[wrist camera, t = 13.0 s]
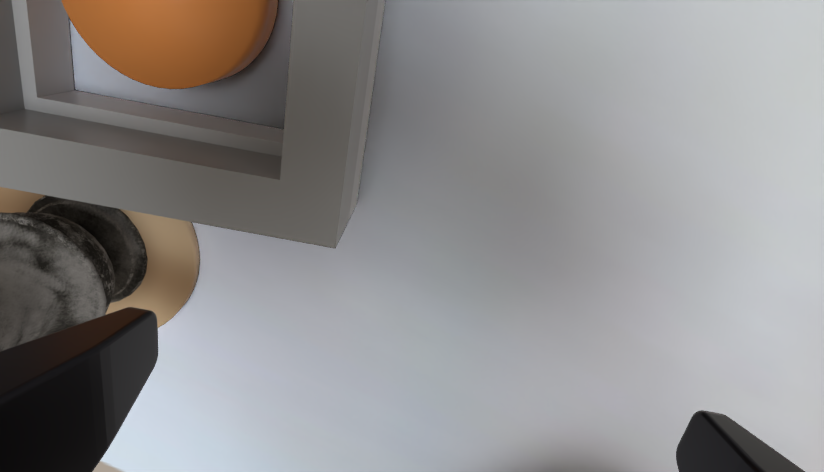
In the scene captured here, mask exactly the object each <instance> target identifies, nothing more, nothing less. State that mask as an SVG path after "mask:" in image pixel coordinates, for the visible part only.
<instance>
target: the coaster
mask: <svg viewBox="0 0 824 472" xmlns="http://www.w3.org/2000/svg"><path fill="white" fill-rule="evenodd" d="M43 196H45V195H42V194H36V193H31V192H26V191H20V190H15V189H9V188H4V187H0V212H2V213H15V212H24V213H27V211H28V210H29V209H30V207H31V206H32V205H33V204H34V202H35V201H37V200H39V199H40V198H42V197H43ZM120 210H121V211H122V212H123V213H125V214H126V215H127V216H128V217H129V219H130V220H131V221H132V223H133V224H134V225H135V226H136V228H137V229H138V231H139V233H140V235H141V237H142V239H143V241H144V243H145V248H146V253H147V258H148V260H147V270H146V274H145V277H144V279H143V281H142V283H141V285H140V286H139V287H138V288H137V289H136V290H135V291H134V292H133V293H132V294H131V295H130V296H128V297H126V298H124V299H122V300H120V301H117V302H112V303H110V305H109V307H108V309H107V312H106V314H109V313H112V312H115V311H118V310H121V309H124V308H127V307H135V308H140V309H146V310H151V311H153V312H154V313H155V314H156V316H157V326H158V327H160V326H162V325H164V324H165V323H166V322H168V321H169V320H170V319H171V318H173V316H174V315H175V314H176V313H177V312H178V311H179V310H180V309H181V308H182V307H183V305H184V304H185V303H186V302H187V300H188V299H189V297H190V296H191V294H192V292H193V290H194V287H195V285H196V282H197V277H198V273H199V263H200V260H199V247H198V242H197V237H196V234H195V231H194V228H193V225H192V223H191V222H189V221H183V220H178V219H172V218H167V217H162V216H156V215H151V214H145V213H140V212H134V211H129V210H123V209H120Z"/></svg>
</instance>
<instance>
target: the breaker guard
mask: <svg viewBox="0 0 824 472" xmlns="http://www.w3.org/2000/svg"><path fill="white" fill-rule="evenodd" d="M384 7H385V0H294V1H293V14H292V27H291V40H290V54H289V67H288V80H287V94H286V107H285V120H284V129H280V128H275V127H269V126H264V125H258V124H253V123H248V122H242V121H237V120H232V119H226V118H221V117H215V116H210V115H205V114H199V113H194V112H189V111H183V110H178V109H172V108H167V107H162V106H156V105H151V104H146V103H140V102H135V101H130V100H124V99H119V98H113V97H108V96H103V95H97V94H92V93H87V92H81V91H76V90H74V78H73V66H72V54H71V42H70V30H69V18H68V14H67V12H66V10H65V8H64V6H63V3H62V1H61V0H0V187H4V188H9V189H15V190H20V191H26V192H31V193H36V194H42V195H47V196H53V197H58V198H64V199H69V200H75V201H80V202H85V203H91V204H96V205H102V206H107V207H113V208H118V209H123V210H129V211H134V212H140V213H145V214H151V215H156V216H162V217H167V218H172V219H178V220H183V221H189V222H194V223H200V224H205V225H210V226H216V227H221V228H227V229H232V230H238V231H243V232H249V233H254V234H259V235H265V236H270V237H276V238H281V239H287V240H292V241H297V242H303V243H308V244H314V245H319V246H325V247H330V248H336V246H337V244H338V242H339V240H340V238H341V236H342V234H343V232H344V230H345V228H346V226H347V223H348V221H349V219H350V217H351V215H352V213H353V211H354V209H355V207H356V205H357V201H358V194H359V186H360V179H361V172H362V165H363V158H364V150H365V143H366V136H367V129H368V122H369V115H370V107H371V100H372V93H373V86H374V79H375V72H376V64H377V57H378V50H379V43H380V36H381V29H382V21H383V14H384Z"/></svg>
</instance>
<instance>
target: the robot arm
mask: <svg viewBox="0 0 824 472" xmlns="http://www.w3.org/2000/svg"><path fill="white" fill-rule="evenodd" d="M157 357H158V326H157V316H156V314H155V313H154V312H153V311H151V310H146V309H140V308H135V307H127V308H124V309H121V310H118V311H115V312H112V313H109V314H106V315H104V316H101V317H98V318H95V319H92V320H89V321H86V322H83V323H80V324H77V325H75V326H72V327H69V328H66V329H63V330H60V331H57V332H54V333H51V334H49V335H46V336H43V337H40V338H37V339H34V340H31V341H28V342H25V343H22V344H20V345H17V346H14V347H11V348H8V349H5V350H2V351H0V472H92V471H93V470H94V468H95V467H96V465H97V464H98V463H99V461H100V460H101V458H102V457H103V455H104V454H105V452H106V451H107V449H108V448H109V446H110V444H111V443H112V441H113V439H114V438H115V436H116V434H117V433H118V431H119V429H120V427H121V426H122V424H123V422H124V420H125V418H126V417H127V415H128V413H129V411H130V409H131V408H132V406H133V404H134V402H135V401H136V399H137V397H138V395H139V393H140V392H141V390H142V388H143V386H144V385H145V383H146V381H147V379H148V377H149V376H150V374H151V372H152V370H153V369H154V367H155V364H156V361H157ZM676 460H677V465H678V469H679V472H805V471H803V470H802V469H801V468H799V467H798V466H796V465H795V464H794V463H792V462H791V461H789V460H788V459H787V458H785V457H784V456H782V455H781V454H780V453H778V452H777V451H775V450H774V449H773V448H771V447H770V446H768V445H767V444H765V443H764V442H763V441H761V440H760V439H758V438H757V437H756V436H754V435H753V434H751V433H750V432H749V431H747V430H746V429H744V428H743V427H742V426H740V425H739V424H737V423H736V422H735V421H733V420H732V419H730V418H729V417H727V416H726V415H723V414H719V413H714V412H708V411H698V412H696V413H695V414H694V415H693V416H692V418H691V420H690V422H689V424H688V426H687V428H686V430H685V432H684V434H683V436H682V438H681V440H680V442H679V444H678V447H677V451H676Z"/></svg>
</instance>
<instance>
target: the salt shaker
mask: <svg viewBox="0 0 824 472" xmlns="http://www.w3.org/2000/svg"><path fill="white" fill-rule="evenodd" d="M147 260H148V258H147V253H146V248H145V243H144V241H143V239H142V237H141V235H140V233H139V231H138V229H137V228H136V226H135V225H134V224H133V223H132V221H131V220H130V219H129V217H128V216H127V215H126V214H125V213H123V212H122V211H121V210H120V209H118V208H113V207H107V206H102V205H96V204H91V203H85V202H80V201H75V200H69V199H64V198H58V197H53V196H47V195H45V196H43V197H42V198H40V199H39V200H37V201H35V202H34V204H33V205H32V206H31V207H30V209H29V210H28V211H27V213H24V212H15V213H2V212H0V351H2V350H5V349H8V348H11V347H14V346H17V345H20V344H22V343H25V342H28V341H31V340H34V339H37V338H40V337H43V336H46V335H49V334H51V333H54V332H57V331H60V330H63V329H66V328H69V327H72V326H75V325H77V324H80V323H83V322H86V321H89V320H92V319H95V318H98V317H101V316H104V315H106V312H107V309H108V307H109V305H110V303H112V302H117V301H120V300H122V299H124V298H126V297H128V296H130V295H131V294H132V293H133V292H134V291H135V290H136V289H137V288H138V287H139V286H140V285H141V283H142V281H143V279H144V277H145V274H146V270H147Z"/></svg>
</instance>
